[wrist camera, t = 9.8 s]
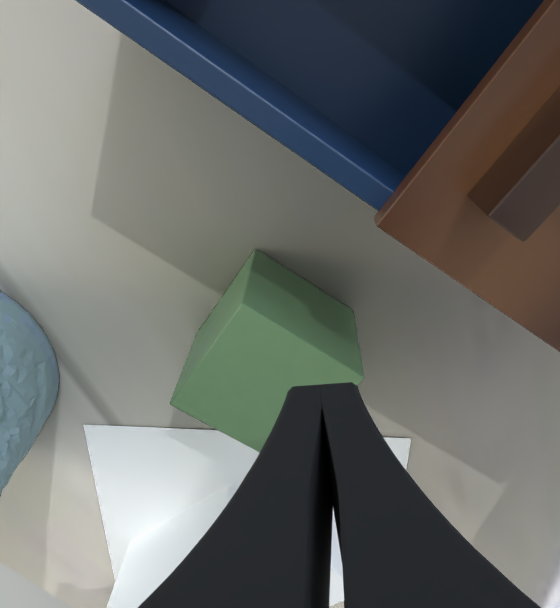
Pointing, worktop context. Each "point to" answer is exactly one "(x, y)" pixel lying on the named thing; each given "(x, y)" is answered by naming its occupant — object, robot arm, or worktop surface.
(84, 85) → the worktop surface
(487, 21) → the tin
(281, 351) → the block
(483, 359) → the worktop surface
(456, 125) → the tin lid
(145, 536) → the twin cubes on base
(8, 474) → the teal plant pot
